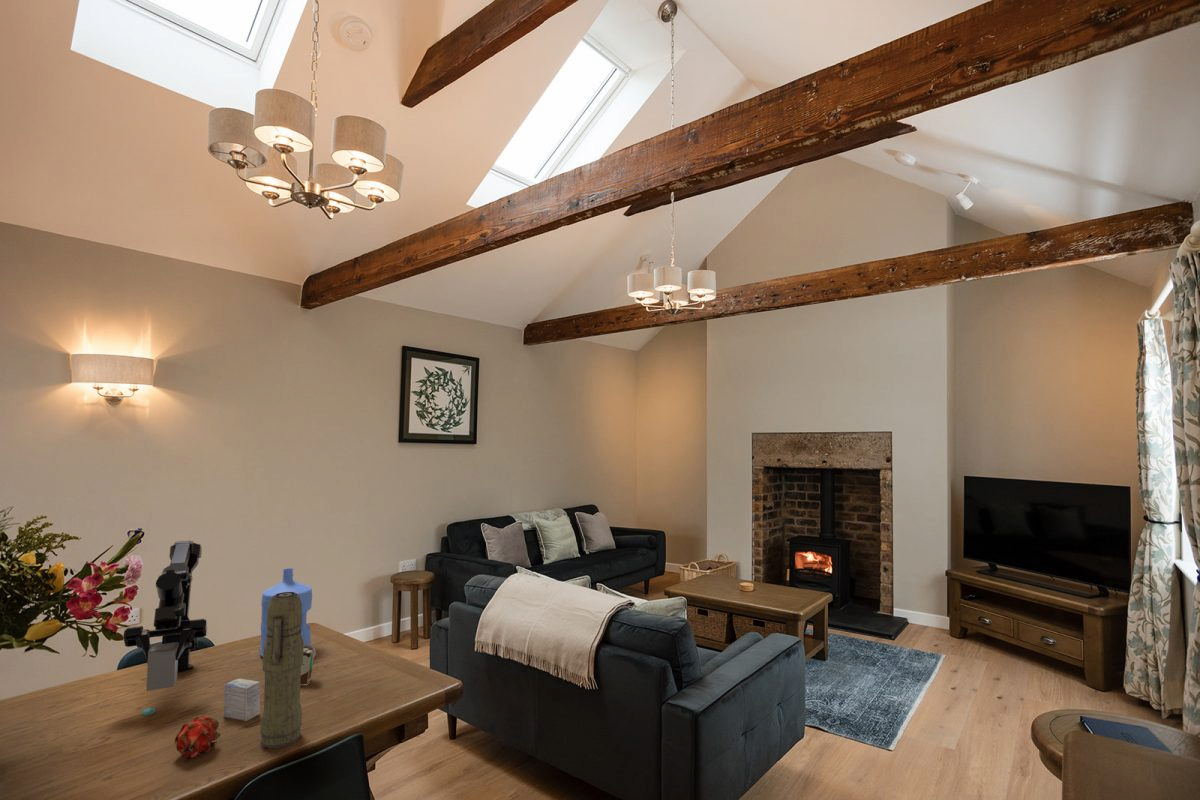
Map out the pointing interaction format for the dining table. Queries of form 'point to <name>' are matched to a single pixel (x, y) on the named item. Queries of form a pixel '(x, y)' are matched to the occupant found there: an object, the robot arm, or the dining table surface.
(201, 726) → the dragon fruit
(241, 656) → the dining table surface
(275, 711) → the thermos
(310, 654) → the food container
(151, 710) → the teal rounded object
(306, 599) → the water jug
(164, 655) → the grey bordered box
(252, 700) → the medicine box
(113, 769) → the dining table surface
